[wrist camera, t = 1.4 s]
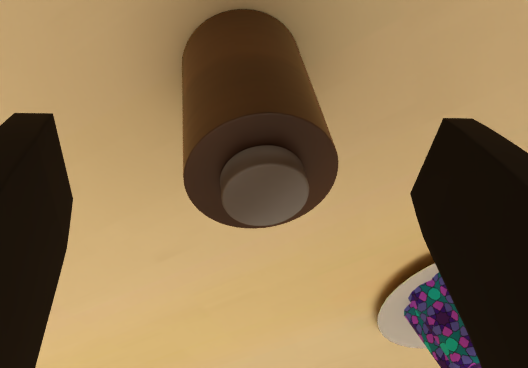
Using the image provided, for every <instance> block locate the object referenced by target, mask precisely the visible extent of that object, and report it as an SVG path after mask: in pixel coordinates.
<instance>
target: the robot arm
mask: <svg viewBox="0 0 528 368" xmlns="http://www.w3.org/2000/svg"><path fill="white" fill-rule="evenodd" d="M410 194H411V198H412V201H413V205H414V208H415V212H416V216H417V219H418V222H419V225H420V228H421V232H422V235H423V238H424V240H425V242H426V244H427V247H428V249H429V251H430V253H431V255H432V258H433V260H434V262H435V264H436V266H437V269H438V271H439V273H440V275H441V277H442V279H443V281H444V284H445V286H446V288H447V290H448V292H449V294H450V296H451V298H452V300H453V303H454V305H455V307H456V309H457V311H458V313H459V315H460V318H461V320H462V322H463V324H464V326H465V328H466V330H467V332H468V335H469V337H470V339H471V342H472V344H473V347H474V349H475V351H476V354H477V356H478V359H479V362H480V365H481V368H528V153H527V152H525V151H524V150H522V149H521V148H519V147H518V146H516V145H515V144H513V143H512V142H510V141H509V140H507V139H506V138H504V137H503V136H501V135H500V134H498V133H496V132H495V131H493V130H492V129H490V128H488V127H486V126H485V125H483V124H481V123H479V122H478V121H476V120H474V119H463V118H443V120H442V123H441V125H440V127H439V129H438V132H437V134H436V136H435V139H434V141H433V143H432V145H431V148H430V150H429V152H428V154H427V157H426V159H425V161H424V164H423V166H422V168H421V170H420V173H419V175H418V177H417V180H416V182H415V184H414V186H413V189H412V191H411V193H410ZM72 202H73V197H72V193H71V189H70V184H69V180H68V176H67V172H66V167H65V163H64V159H63V155H62V150H61V146H60V142H59V138H58V133H57V129H56V125H55V121H54V116H53V114H47V113H14V114H13V115H12V116H11V117H10V118H8V119H7V120H6V121H5V122H4V123H3V124H2V125H1V126H0V368H35V366H36V362H37V358H38V355H39V351H40V347H41V344H42V340H43V336H44V332H45V329H46V325H47V321H48V318H49V314H50V310H51V306H52V303H53V299H54V295H55V291H56V288H57V284H58V280H59V276H60V272H61V269H62V265H63V261H64V257H65V253H66V249H67V243H68V235H69V228H70V220H71V211H72Z"/></svg>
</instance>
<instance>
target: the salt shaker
mask: <svg viewBox="0 0 528 368" xmlns="http://www.w3.org/2000/svg"><path fill="white" fill-rule="evenodd" d="M182 106H183V178H184V186H185V189H186V192H187V194H188V196H189V198H190V200H191V201H192V203H193V204H194V205H195V206H196V207H197V208H198V210H199V211H201V212H202V213H203V214H205V215H206V216H208V217H209V218H211V219H213V220H215V221H217V222H219V223H222V224H225V225H229V226H233V227H239V228H265V227H272V226H276V225H280V224H284V223H287V222H290V221H292V220H294V219H296V218H299V217H300V216H302V215H304V214H306V213H307V212H309V211H310V210H312V209H313V208H314V207H315V206H317V205H318V204H319V203H320V202H321V201H322V200H323V199H324V198H325V197H326V195H327V194H328V192H329V191H330V189H331V188H332V186H333V184H334V181H335V179H336V176H337V171H338V156H337V151H336V148H335V146H334V143H333V140H332V138H331V135H330V132H329V129H328V127H327V124H326V121H325V119H324V116H323V113H322V111H321V108H320V105H319V103H318V100H317V97H316V95H315V92H314V89H313V87H312V84H311V81H310V79H309V76H308V73H307V71H306V68H305V65H304V63H303V60H302V57H301V55H300V52H299V49H298V47H297V44H296V41H295V39H294V38H293V36H292V34H291V33H290V31H289V30H288V29H287V28H286V27H285V26H284V25H283V24H282V23H281V22H280V21H278V20H277V19H276V18H274V17H272V16H270V15H268V14H266V13H263V12H259V11H255V10H248V9H237V10H230V11H226V12H223V13H220V14H218V15H215V16H213V17H211V18H210V19H208V20H206V21H205V22H204V23H203V24H201V25H200V26H199V27H198V28H197V29H196V30H195V31H194V33H193V34H192V35H191V37H190V38H189V40H188V42H187V44H186V46H185V49H184V53H183V57H182Z"/></svg>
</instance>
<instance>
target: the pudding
mask: <svg viewBox="0 0 528 368" xmlns="http://www.w3.org/2000/svg"><path fill="white" fill-rule="evenodd" d="M377 323H378V327H379V331H380V332H381V333H382V335H383V336H384V337H385V338H387V339H388V340H389V341H391V342H393V343H395V344H398V345H401V346H405V347H411V348H427V349H428V350H429V351H430V353H431V354H432V356H433V357H434V358H435V360H436V361H437V363H438V364H439V366H440V367H441V368H481V365H480V362H479V359H478V356H477V354H476V351H475V349H474V347H473V344H472V342H471V339H470V337H469V335H468V332H467V330H466V328H465V326H464V324H463V322H462V320H461V318H460V315H459V313H458V311H457V309H456V307H455V305H454V303H453V300H452V298H451V296H450V294H449V292H448V290H447V288H446V286H445V284H444V281H443V279H442V277H441V275H440V273H439V271H438V269H437V266H436V264H435V263H434V264H432V265H430V266H428V267H426V268H424V269H422V270H421V271H419V272H418V273H416V274H414V275H413V276H411V277H410V278H408V279H407V280H406V281H405V282H403V283H402V284H401V285H399V286H398V287H397V288H396V289H395V290H394V291H393V292H392V293H391V294H390V295H389V296H388V298H387V299H386V301H385V302H384V303H383V305H382V307H381V309H380V312H379V314H378V322H377Z"/></svg>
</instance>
